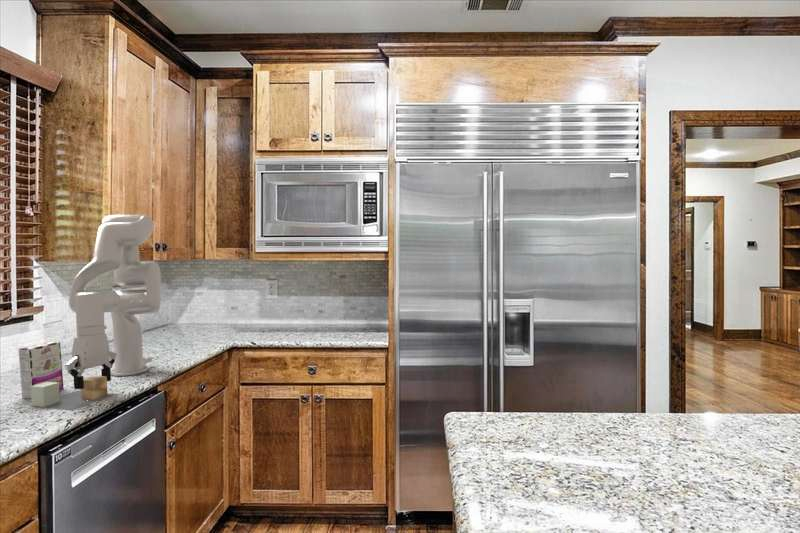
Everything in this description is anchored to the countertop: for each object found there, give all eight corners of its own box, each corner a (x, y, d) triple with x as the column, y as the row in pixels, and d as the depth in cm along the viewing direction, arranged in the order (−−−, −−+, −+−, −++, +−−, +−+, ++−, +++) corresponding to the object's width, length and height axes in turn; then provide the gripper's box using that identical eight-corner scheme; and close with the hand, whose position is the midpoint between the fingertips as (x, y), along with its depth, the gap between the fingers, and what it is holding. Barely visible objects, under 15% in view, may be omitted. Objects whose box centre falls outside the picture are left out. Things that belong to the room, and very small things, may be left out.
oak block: (95, 393, 159) (94, 375, 159) (107, 394, 158) (106, 376, 158) (81, 398, 155) (80, 379, 154) (93, 399, 153) (92, 380, 153)
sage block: (48, 400, 154) (46, 381, 153) (59, 401, 152) (58, 382, 152) (31, 405, 149) (30, 386, 148) (44, 406, 147) (42, 387, 147)
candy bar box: (51, 388, 168) (49, 341, 167) (64, 389, 167) (61, 341, 166) (20, 398, 157) (17, 348, 156) (33, 399, 156) (30, 348, 155)
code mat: (77, 391, 164) (77, 390, 164) (117, 394, 159) (117, 394, 159) (29, 406, 148) (29, 405, 148) (71, 411, 143) (71, 410, 143)
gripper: (105, 326, 165) (107, 377, 165) (55, 335, 148) (58, 391, 148) (123, 327, 162) (125, 378, 163) (74, 335, 146) (76, 392, 146)
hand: (93, 384), depth 155 cm, fingers open, 9 cm apart
